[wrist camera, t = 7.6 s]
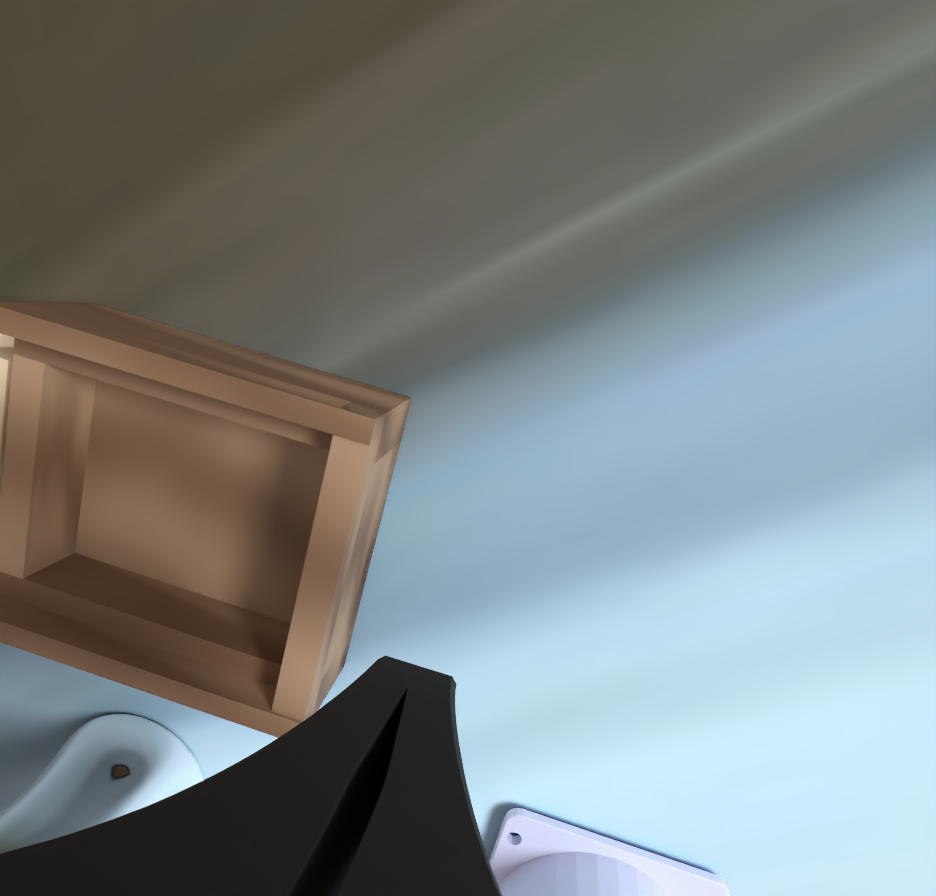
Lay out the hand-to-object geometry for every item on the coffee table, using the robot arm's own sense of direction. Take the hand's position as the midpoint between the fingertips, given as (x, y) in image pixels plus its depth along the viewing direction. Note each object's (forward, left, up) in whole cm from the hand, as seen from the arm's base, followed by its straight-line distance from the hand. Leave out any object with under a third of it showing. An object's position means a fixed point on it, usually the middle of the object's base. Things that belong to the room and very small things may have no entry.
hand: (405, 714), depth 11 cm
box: (-1, +9, -10) cm, 13 cm away
